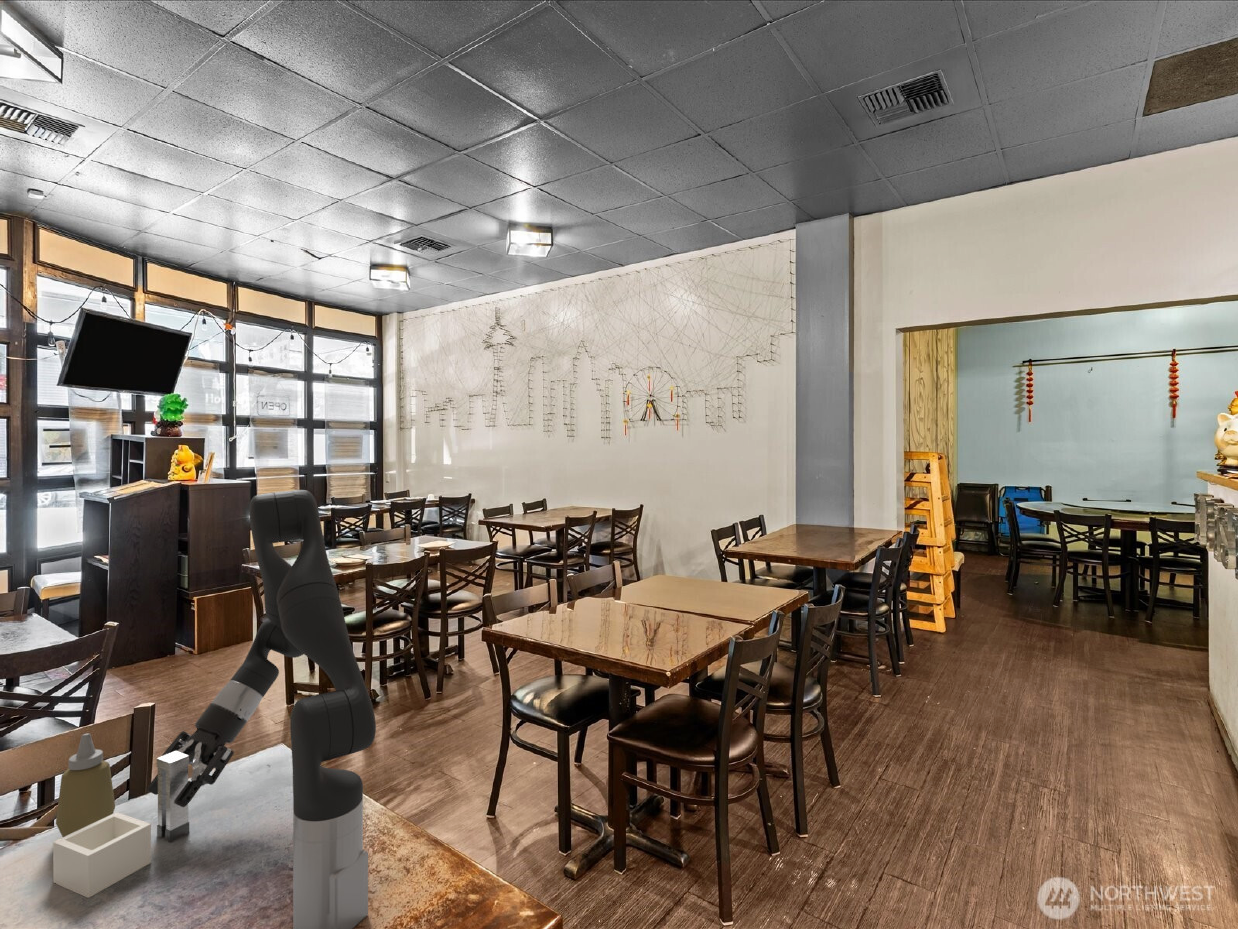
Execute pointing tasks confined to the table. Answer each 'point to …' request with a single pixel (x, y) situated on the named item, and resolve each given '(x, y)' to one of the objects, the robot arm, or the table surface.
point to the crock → (101, 854)
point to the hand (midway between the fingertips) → (164, 799)
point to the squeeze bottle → (85, 789)
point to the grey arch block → (172, 796)
